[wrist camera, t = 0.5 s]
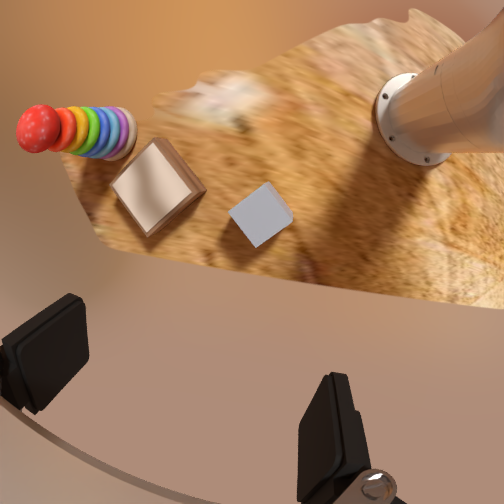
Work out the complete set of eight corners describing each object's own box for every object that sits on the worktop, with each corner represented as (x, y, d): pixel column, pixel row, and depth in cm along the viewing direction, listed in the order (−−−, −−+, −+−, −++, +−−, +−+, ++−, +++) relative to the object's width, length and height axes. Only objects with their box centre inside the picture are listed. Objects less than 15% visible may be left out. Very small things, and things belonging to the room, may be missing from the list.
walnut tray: (167, 139, 36) (153, 137, 32) (207, 190, 37) (196, 193, 33) (124, 182, 38) (107, 185, 34) (160, 230, 40) (146, 238, 36)
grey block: (268, 181, 36) (264, 183, 30) (292, 212, 37) (292, 221, 31) (237, 204, 37) (227, 211, 32) (261, 235, 38) (255, 247, 32)
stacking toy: (105, 170, 38) (8, 183, 21) (90, 125, 37) (-5, 120, 19) (146, 144, 37) (49, 140, 19) (129, 98, 35) (35, 72, 17)
